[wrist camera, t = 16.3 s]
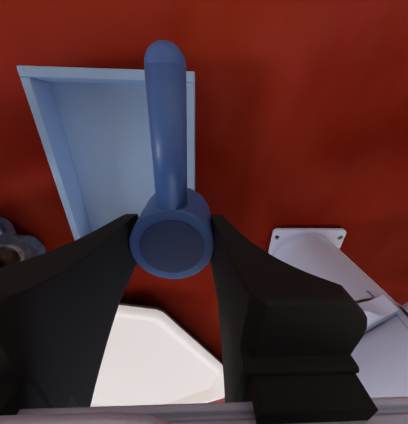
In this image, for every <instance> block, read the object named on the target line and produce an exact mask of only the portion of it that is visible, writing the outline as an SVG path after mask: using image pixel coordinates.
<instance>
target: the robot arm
mask: <svg viewBox="0 0 408 424" xmlns="http://www.w3.org/2000/svg"><path fill="white" fill-rule="evenodd" d="M137 220H138V214H125V215H123V216H121V217H119V218H117V219H115V220H113V221H111V222H110V223H108V224H106V225H104V226H102V227H101V228H99V229H97V230H95V231H93V232H91V233H89V234H87V235H85V236H83V237H81V238H80V239H77V240H75V241H73V242H71V243H69V244H66V245H64V246H62V247H59V248H57V249H54V250H52V251H49V252H46V253H44V254H41V255H38V256H35V257H32V258H29V259H27V260H24V261H21V262H18V263H14V264H11V265H8V266H4V267H1V268H0V424H408V301H407V302H406V303H405V304H403V306H402V305H400V304H399V303H397V302H396V301H394V300H393V299H392V298H391V297H390V296H389V295H388V294H387V293H386V292H385V291H384V290H383V289H382V288H380V287H379V286H378V285H377V284H376V283H375V282H374V281H373V280H372V279H371V278H370V277H369V276H368V275H366V274H365V273H364V272H363V271H362V270H361V269H360V268H359V267H358V266H357V265H356V264H355V263H354V262H352V261H351V260H350V259H349V258H348V257H347V256H346V255H345V254H344V253H343V252H342V251H341V250H340V247H341V245H342V242H343V240H344V237H345V235H346V230H344V229H343V228H275V229H274V230H273V232H272V236H271V241H270V246H269V250H268V253H267V252H265V251H264V250H262V249H261V248H259V247H258V246H256V245H255V244H253V243H252V242H251V241H250V240H248V239H247V238H246V237H245V236H243V235H242V234H241V233H240V232H239V231H238V230H237V229H236V228H234V227H233V226H232V225H231V224H230V223H229V221H228V220H227V219H226V218H225V217H224V216H223V215H211V223H212V230H213V235H214V253H213V256H212V258H211V260H210V261H211V266H212V272H213V277H214V283H215V288H216V293H217V300H218V309H219V321H220V333H221V346H222V361H223V375H224V391H225V403H193V404H162V405H131V406H100V407H90V406H91V402H92V398H93V394H94V390H95V386H96V382H97V377H98V374H99V370H100V366H101V363H102V359H103V355H104V352H105V348H106V345H107V341H108V338H109V335H110V331H111V328H112V325H113V321H114V318H115V315H116V312H117V309H118V306H119V303H120V301H121V298H122V296H123V293H124V291H125V289H126V287H127V284H128V282H129V280H130V278H131V275H132V273H133V271H134V268H135V266H136V264H137V262H136V261H135V259H134V258H133V256H132V254H131V251H130V246H129V237H130V233H131V231H132V229H133V227H134V225H135V223H136V222H137ZM277 235H278V237H276V238H275V236H277ZM339 236H340V237H339Z"/></svg>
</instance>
